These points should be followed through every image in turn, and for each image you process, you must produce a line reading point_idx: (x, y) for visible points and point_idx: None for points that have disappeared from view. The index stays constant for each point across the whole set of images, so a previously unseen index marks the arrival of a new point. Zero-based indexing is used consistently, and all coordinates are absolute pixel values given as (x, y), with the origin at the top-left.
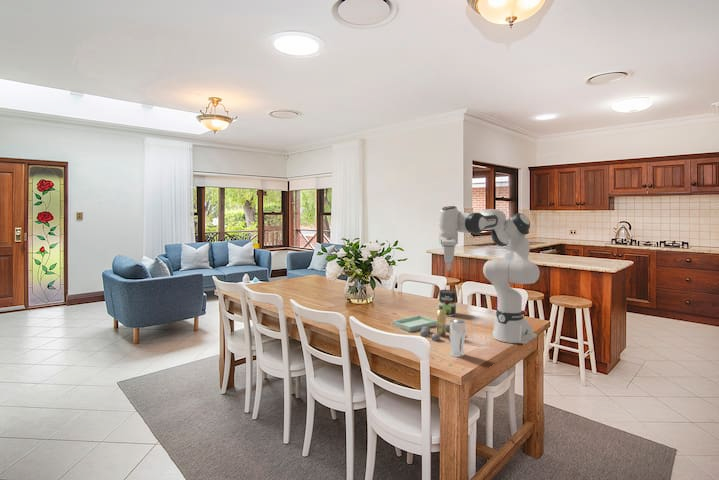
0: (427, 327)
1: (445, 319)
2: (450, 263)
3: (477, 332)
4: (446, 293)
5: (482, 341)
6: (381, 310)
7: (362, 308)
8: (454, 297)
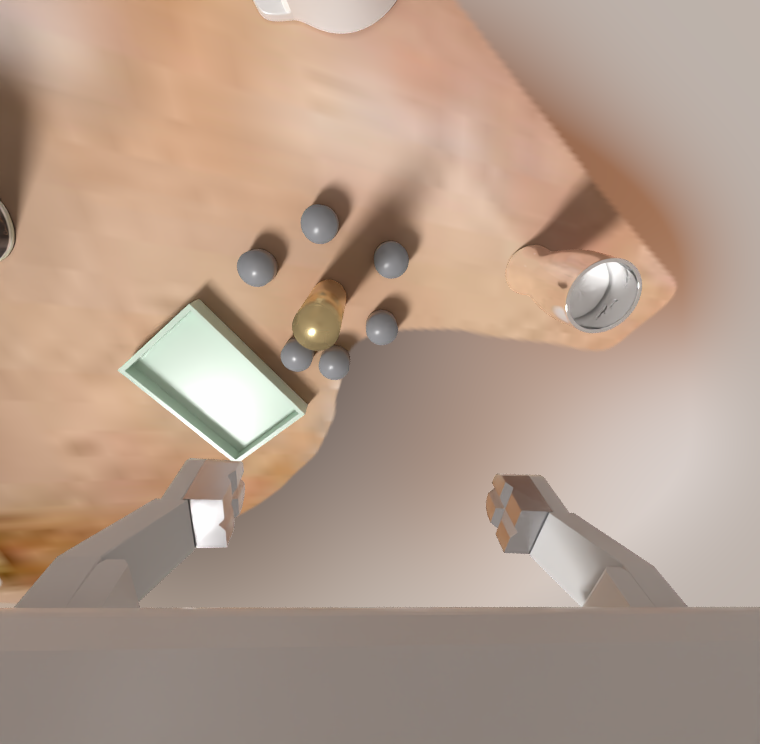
0: (294, 352)
1: (333, 299)
2: (649, 572)
3: (260, 109)
4: None
5: (391, 120)
6: (56, 489)
7: (60, 542)
8: None
